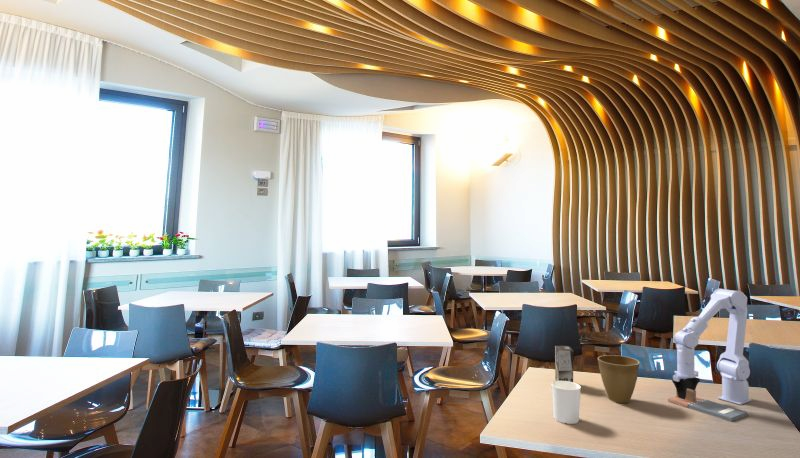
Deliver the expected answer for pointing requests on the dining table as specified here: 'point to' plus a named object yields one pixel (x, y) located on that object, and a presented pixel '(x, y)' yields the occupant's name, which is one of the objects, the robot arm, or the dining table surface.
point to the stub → (686, 398)
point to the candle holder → (566, 401)
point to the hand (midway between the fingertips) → (686, 397)
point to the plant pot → (618, 376)
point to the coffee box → (563, 363)
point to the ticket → (718, 410)
